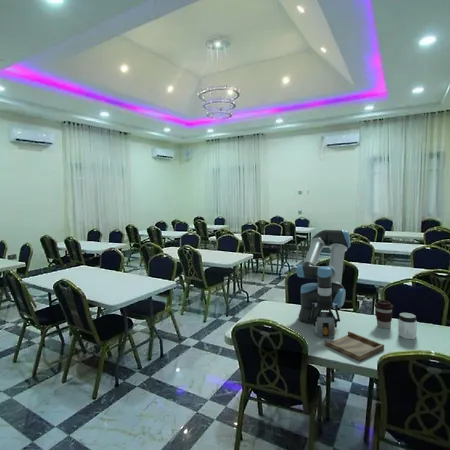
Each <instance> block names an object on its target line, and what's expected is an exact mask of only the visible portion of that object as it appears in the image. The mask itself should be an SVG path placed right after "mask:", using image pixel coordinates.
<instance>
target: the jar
mask: <svg viewBox="0 0 450 450" xmlns="http://www.w3.org/2000/svg"><path fill="white" fill-rule="evenodd" d="M397 322H398V324H397V325H398V326H397V327H398V330H397V331H398V332H397V333H398V334H397V335H398V336H399V337H401V338H403V339H405V340H407V339H408V340H415V338H417V332H418V331H417V328H418V327H417V323H418V321H417V316H416V315H415V314H413V313H409V312H400V313H399V316H398V321H397Z"/></svg>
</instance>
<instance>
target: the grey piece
mask: <svg viewBox="0 0 450 450" xmlns="http://www.w3.org/2000/svg"><path fill="white" fill-rule="evenodd" d="M316 313H317V311H316ZM334 316H335V315H334ZM334 316H331V314H330V312H329V311H321V312H320V314H319V316H318V315H317V319H316V320H317V333H316V334H317V335H316V336H317V339H323V338H324V335H323V327H327V328H328V329H329V334H328V339H329V340H330V339H331V340H334V339H335V334H334Z"/></svg>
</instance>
